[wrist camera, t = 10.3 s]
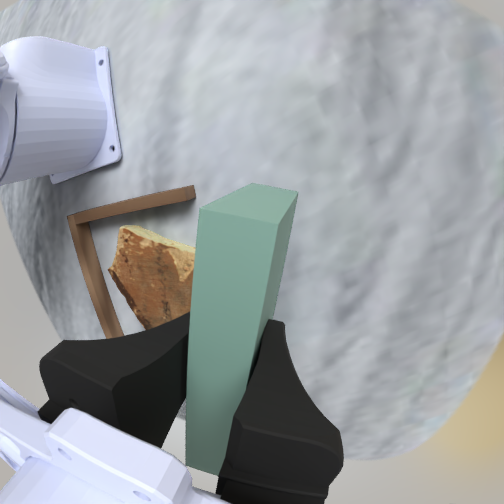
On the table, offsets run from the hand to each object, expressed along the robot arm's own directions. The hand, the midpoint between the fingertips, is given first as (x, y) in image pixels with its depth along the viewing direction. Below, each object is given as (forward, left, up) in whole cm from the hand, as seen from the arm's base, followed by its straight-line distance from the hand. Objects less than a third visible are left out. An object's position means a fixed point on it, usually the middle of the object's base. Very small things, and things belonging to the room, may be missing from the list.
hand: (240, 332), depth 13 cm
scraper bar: (0, 0, -3) cm, 3 cm away
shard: (+1, -8, -9) cm, 12 cm away
